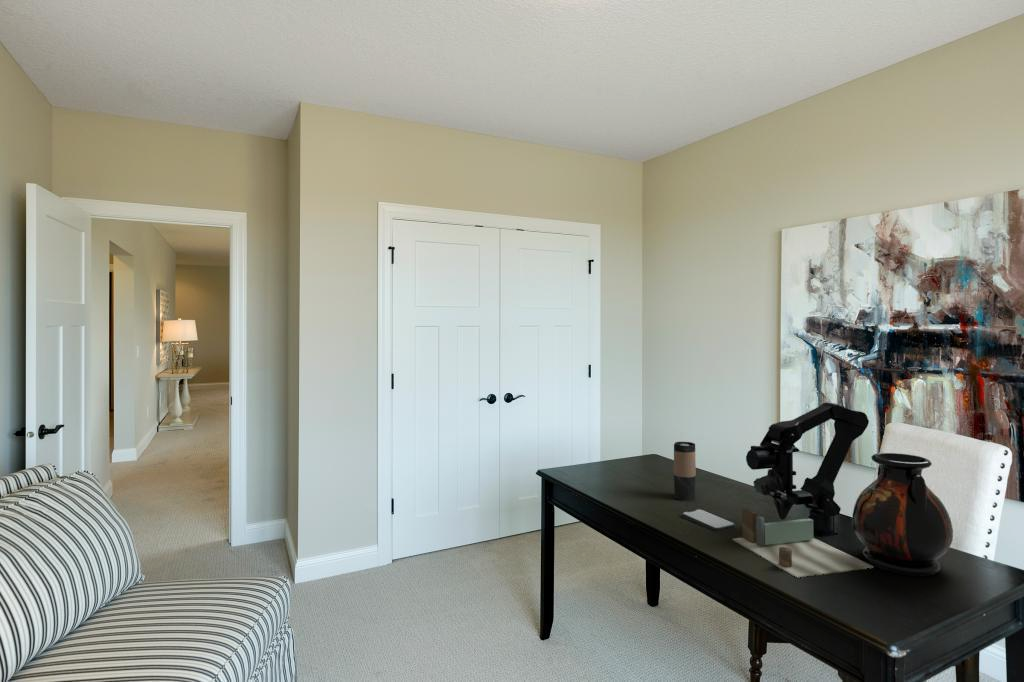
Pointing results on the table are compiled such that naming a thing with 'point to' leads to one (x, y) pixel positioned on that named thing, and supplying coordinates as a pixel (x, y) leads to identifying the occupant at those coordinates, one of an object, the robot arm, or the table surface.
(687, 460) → the travel mug
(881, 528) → the amphora vase
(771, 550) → the gate base
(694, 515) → the phone case
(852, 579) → the table surface
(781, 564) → the stop post
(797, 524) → the gate
